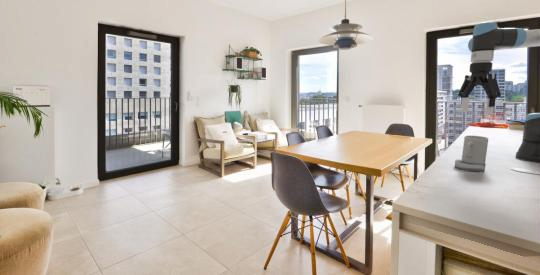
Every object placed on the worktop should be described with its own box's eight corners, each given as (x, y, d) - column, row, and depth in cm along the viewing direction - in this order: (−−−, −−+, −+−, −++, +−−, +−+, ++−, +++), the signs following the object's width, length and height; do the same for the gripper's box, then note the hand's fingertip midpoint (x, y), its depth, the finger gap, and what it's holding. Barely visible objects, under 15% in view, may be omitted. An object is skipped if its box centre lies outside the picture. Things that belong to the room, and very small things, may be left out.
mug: (466, 158, 130) (469, 134, 128) (488, 162, 123) (492, 137, 121) (454, 162, 124) (457, 137, 122) (476, 166, 117) (480, 140, 115)
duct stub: (471, 165, 131) (472, 158, 130) (491, 172, 120) (492, 165, 119) (448, 165, 130) (449, 159, 130) (466, 172, 119) (467, 165, 119)
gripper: (451, 65, 129) (447, 111, 133) (498, 59, 105) (491, 116, 108) (467, 64, 130) (463, 111, 133) (517, 59, 105) (510, 116, 109)
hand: (475, 113), depth 121 cm, fingers open, 13 cm apart
